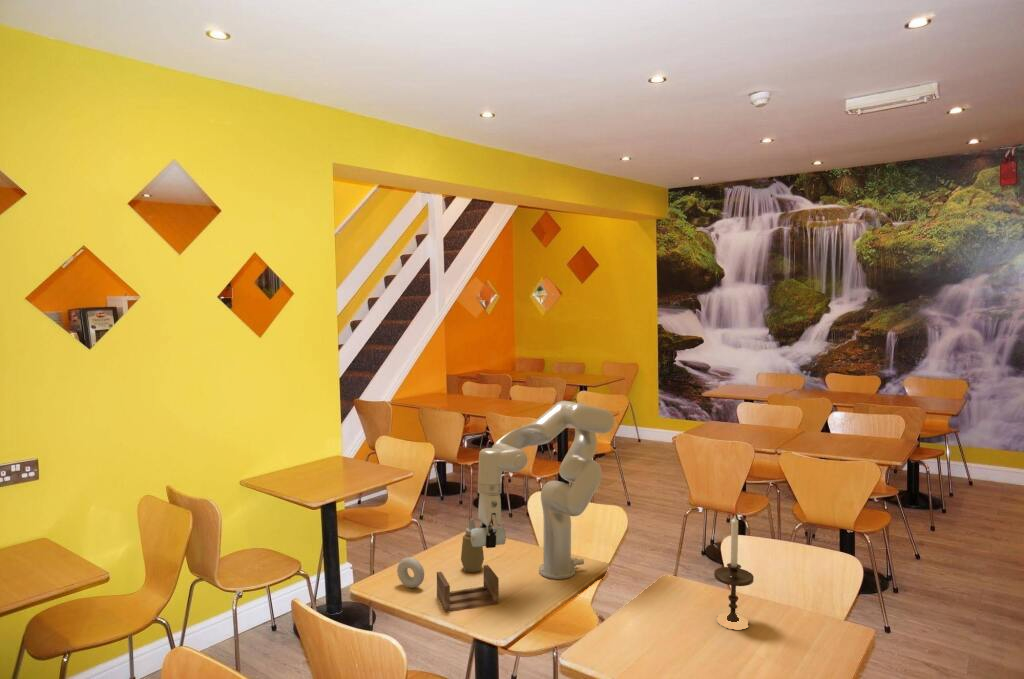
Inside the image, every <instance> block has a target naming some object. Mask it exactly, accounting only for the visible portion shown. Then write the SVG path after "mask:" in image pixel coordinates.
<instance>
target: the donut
mask: <svg viewBox="0 0 1024 679" xmlns="http://www.w3.org/2000/svg"><path fill="white" fill-rule="evenodd" d="M408 569H410V570H411V571H412V573H413V576H411V575H410V574H409V572H408ZM424 569H425V568H424V566H423V565H422V563H421V562H420V561H419V560H418V559H416V558H415V557H412V556H411V557H410V556H407V557H405V558H403V559H401V560H400V561H399V562H398V565H397V570H396V572H397V577H398V579H399V581H400V583H401V584H403V585H404V586H405V587H407V588H411V589H415V588H417V587H419V586H420V585H421V584H422V583H423V582H424V579H425V570H424Z"/></svg>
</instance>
